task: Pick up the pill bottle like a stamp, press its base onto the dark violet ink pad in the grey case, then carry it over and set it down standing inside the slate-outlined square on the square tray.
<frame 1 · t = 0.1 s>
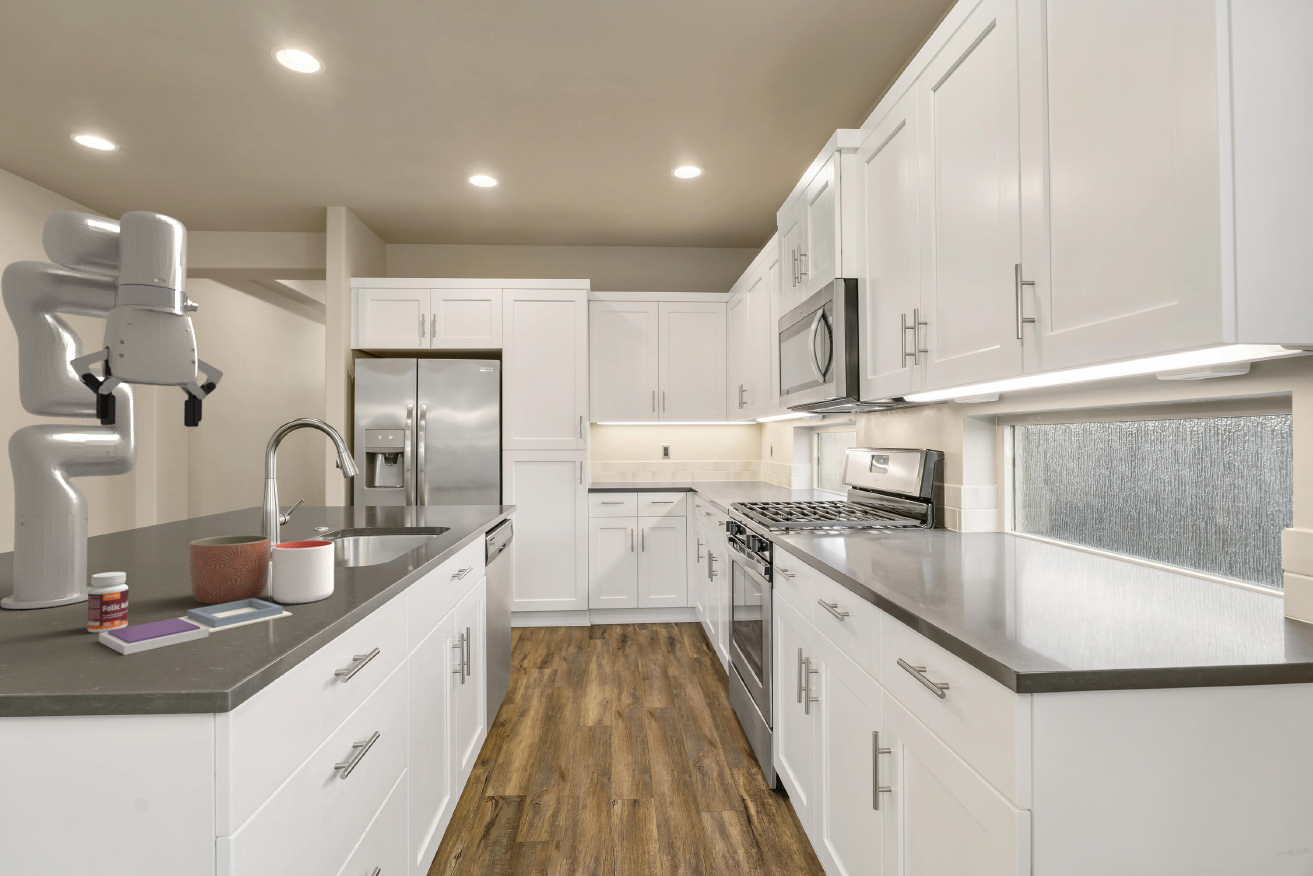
hand: (151, 425, 89), 31 cm above the countertop, fingers open, 9 cm apart
ink pad: (154, 639, 93), on the countertop
planter: (230, 600, 117), on the countertop
pill bottle: (108, 630, 98), on the countertop
square tray: (235, 617, 105), on the countertop
cup: (303, 599, 118), on the countertop
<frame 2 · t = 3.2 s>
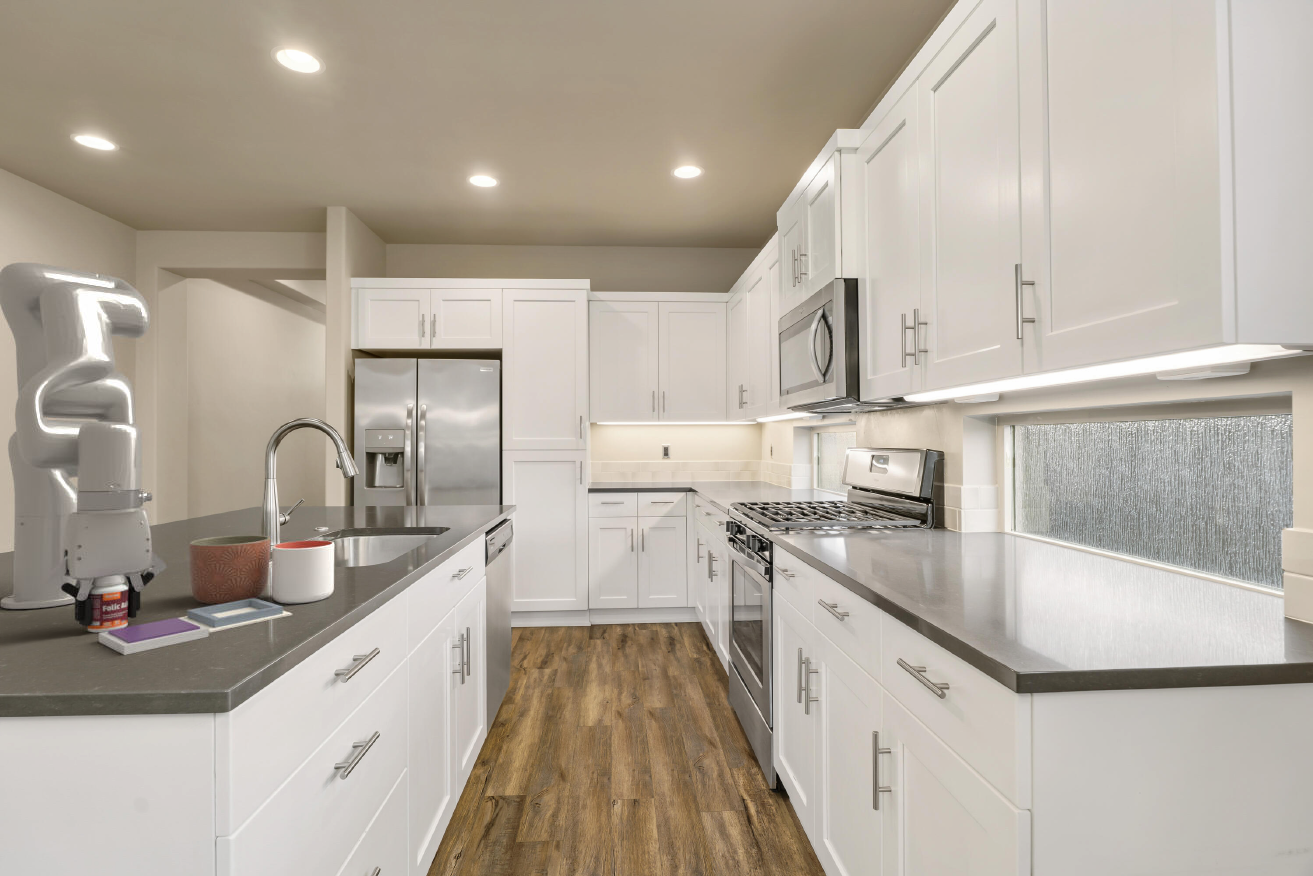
hand: (108, 619, 98), 1 cm above the countertop, fingers closed on pill bottle, 4 cm apart
pill bottle: (108, 629, 98), on the countertop, touching gripper
everything else where it was.
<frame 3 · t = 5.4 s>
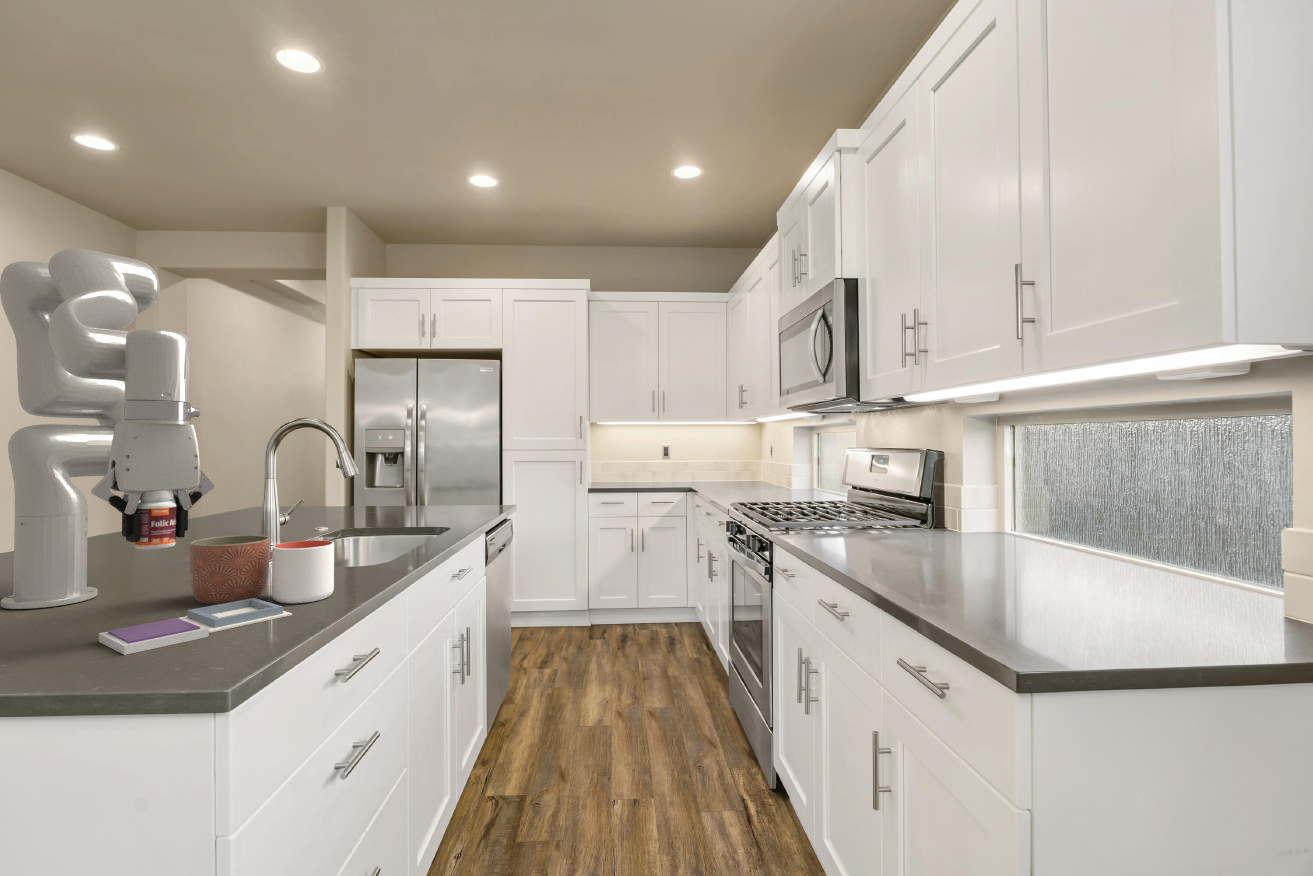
hand: (155, 537, 93), 15 cm above the countertop, fingers closed on pill bottle, 4 cm apart
pill bottle: (155, 548, 93), point 13 cm above the countertop, touching gripper
everything else where it was.
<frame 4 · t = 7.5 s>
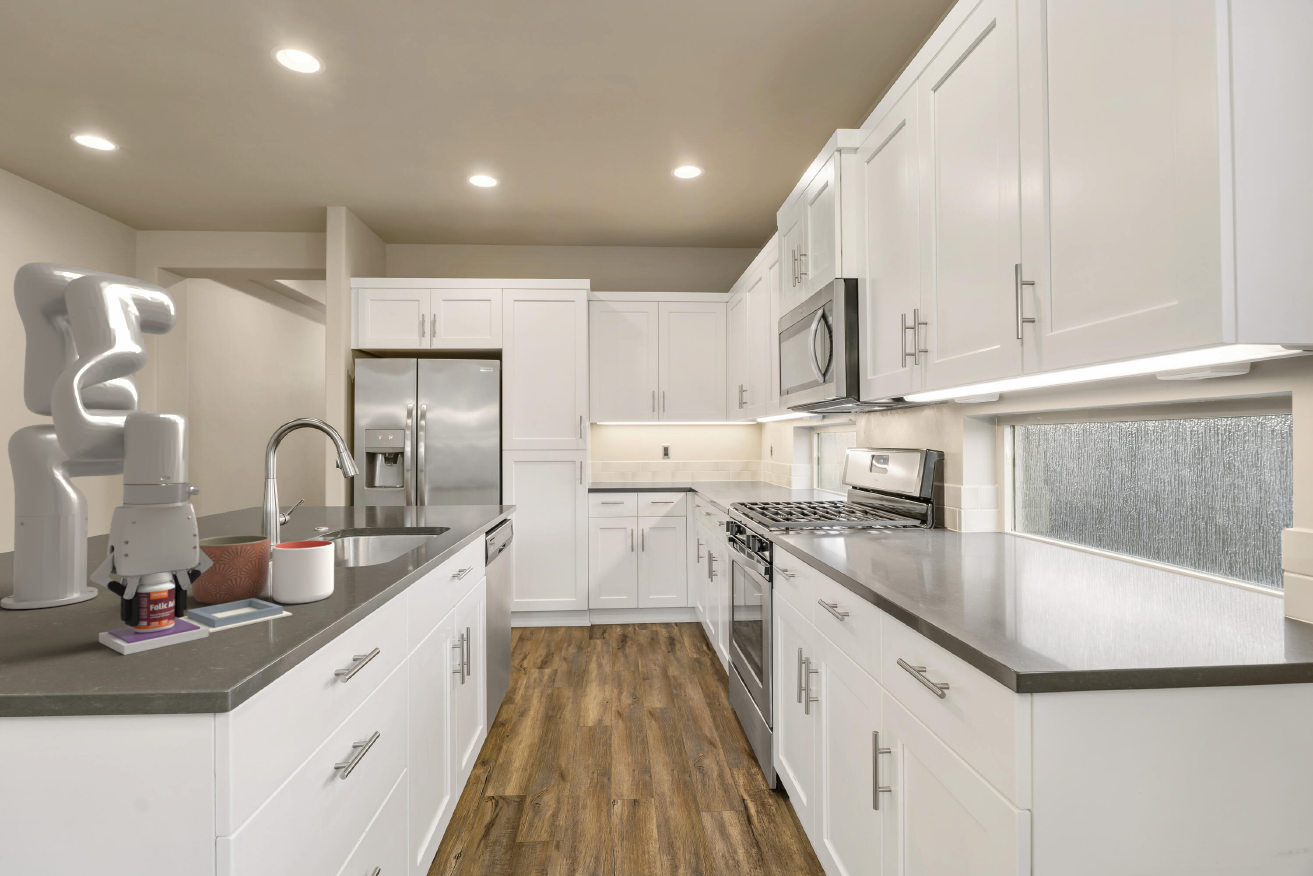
hand: (154, 619, 93), 3 cm above the countertop, fingers closed on pill bottle, 4 cm apart
pill bottle: (154, 630, 93), point 1 cm above the countertop, touching gripper, ink pad
everything else where it was.
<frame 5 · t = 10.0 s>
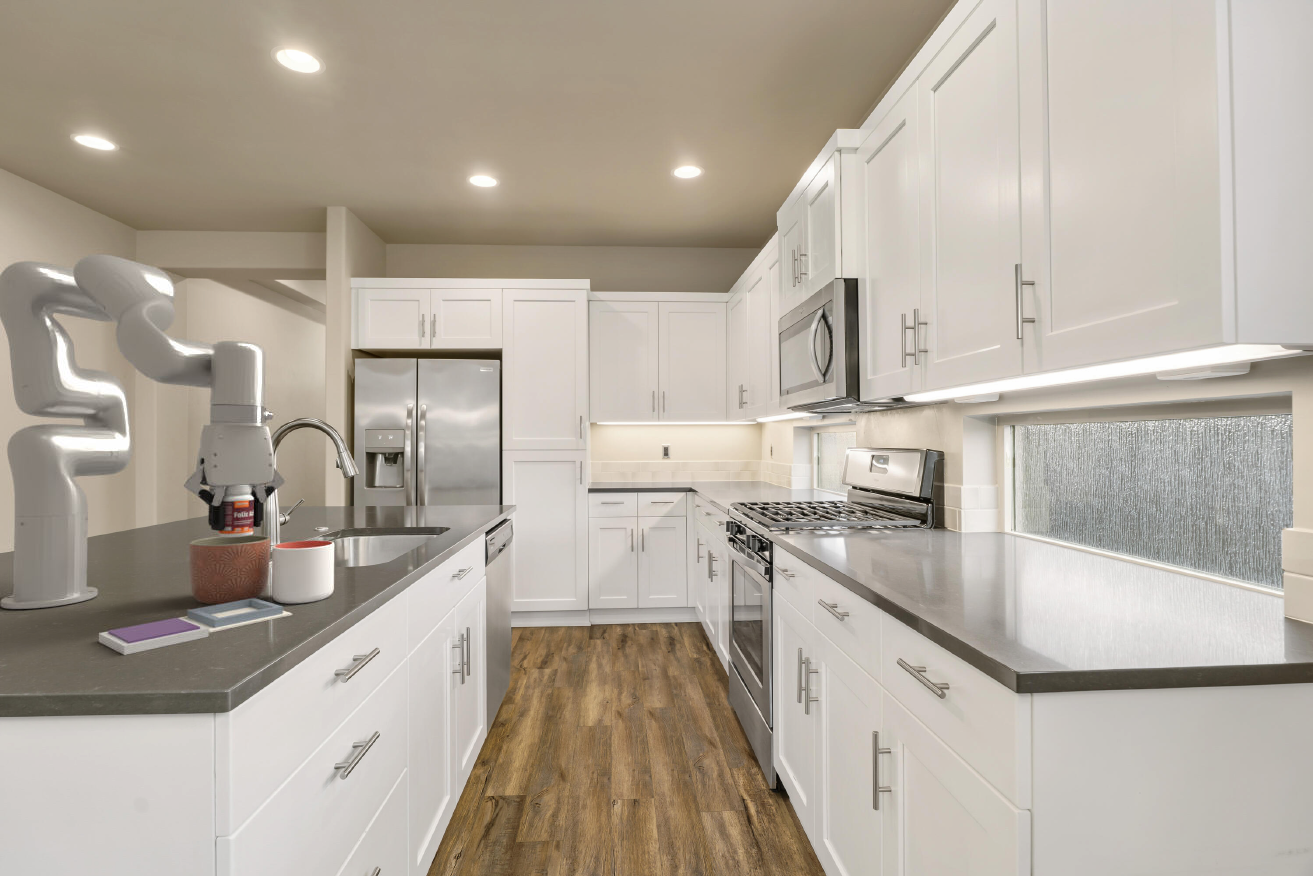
hand: (236, 526, 105), 15 cm above the countertop, fingers closed on pill bottle, 4 cm apart
pill bottle: (236, 536, 105), point 13 cm above the countertop, touching gripper
everything else where it was.
when the fingers open (3 cm above the countertop, at t = 12.1 s): pill bottle drops 1 cm, resting on square tray.
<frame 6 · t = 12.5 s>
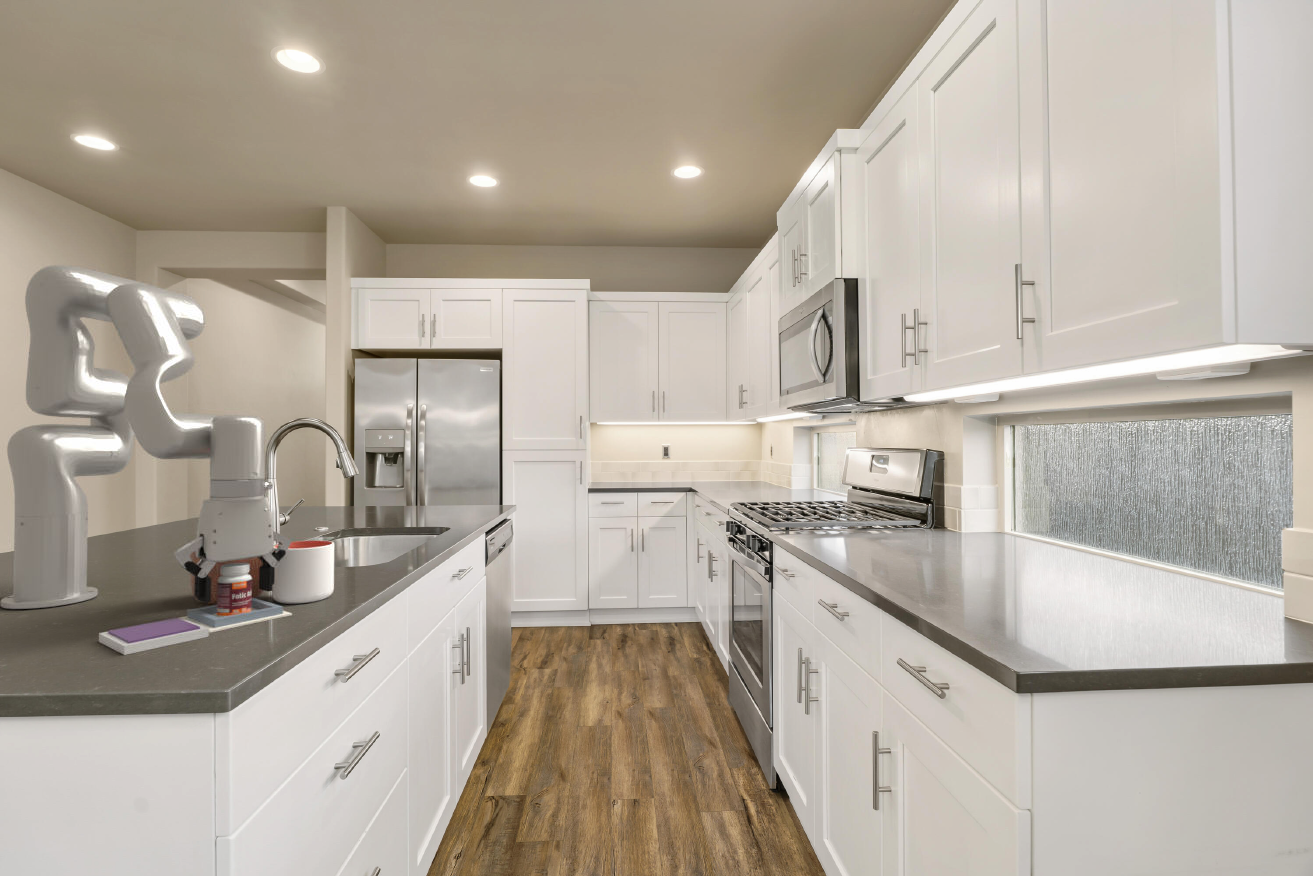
hand: (235, 595, 105), 4 cm above the countertop, fingers open, 8 cm apart
pill bottle: (234, 616, 105), resting on square tray
everything else where it was.
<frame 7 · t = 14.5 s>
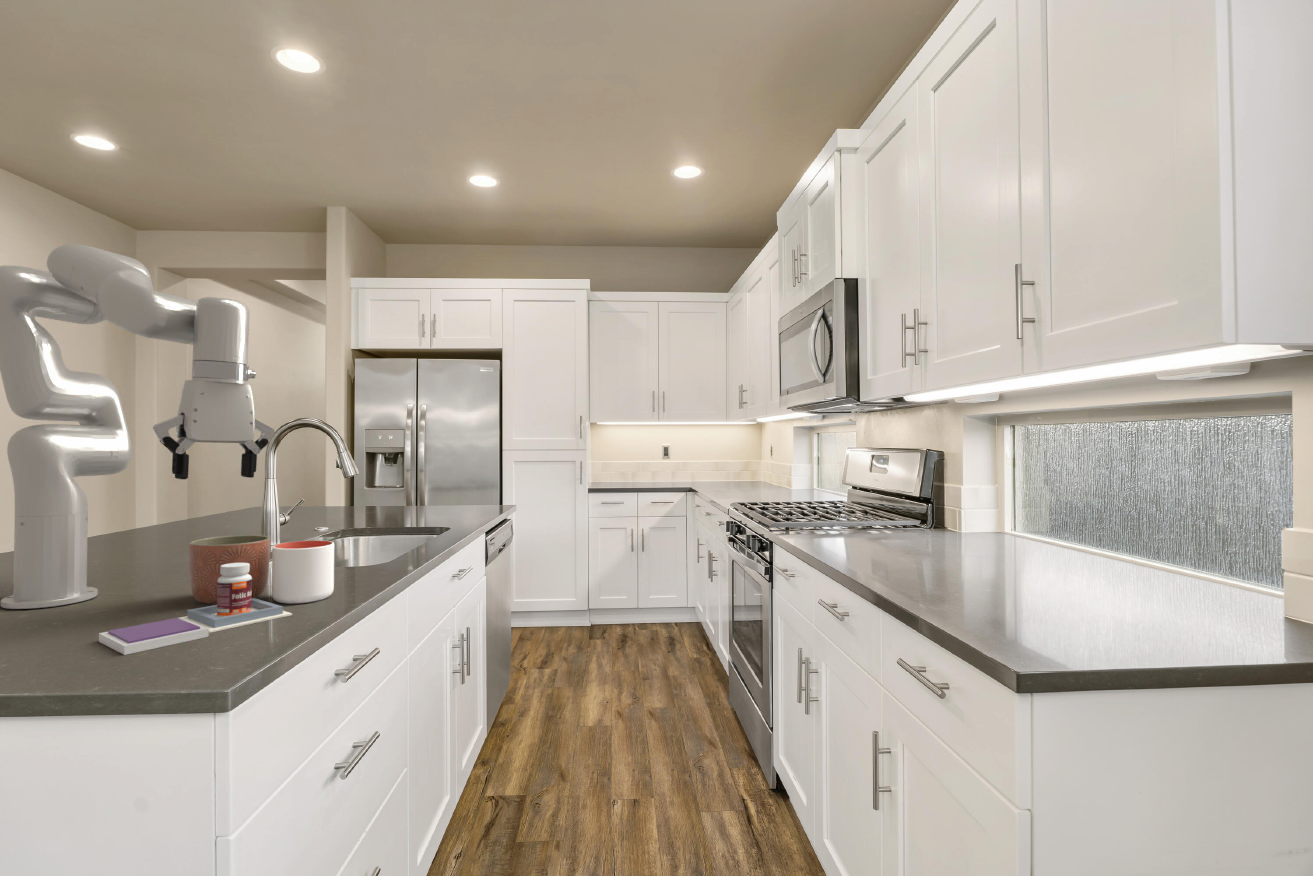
hand: (215, 477, 105), 23 cm above the countertop, fingers open, 9 cm apart
nothing on the countertop moved.
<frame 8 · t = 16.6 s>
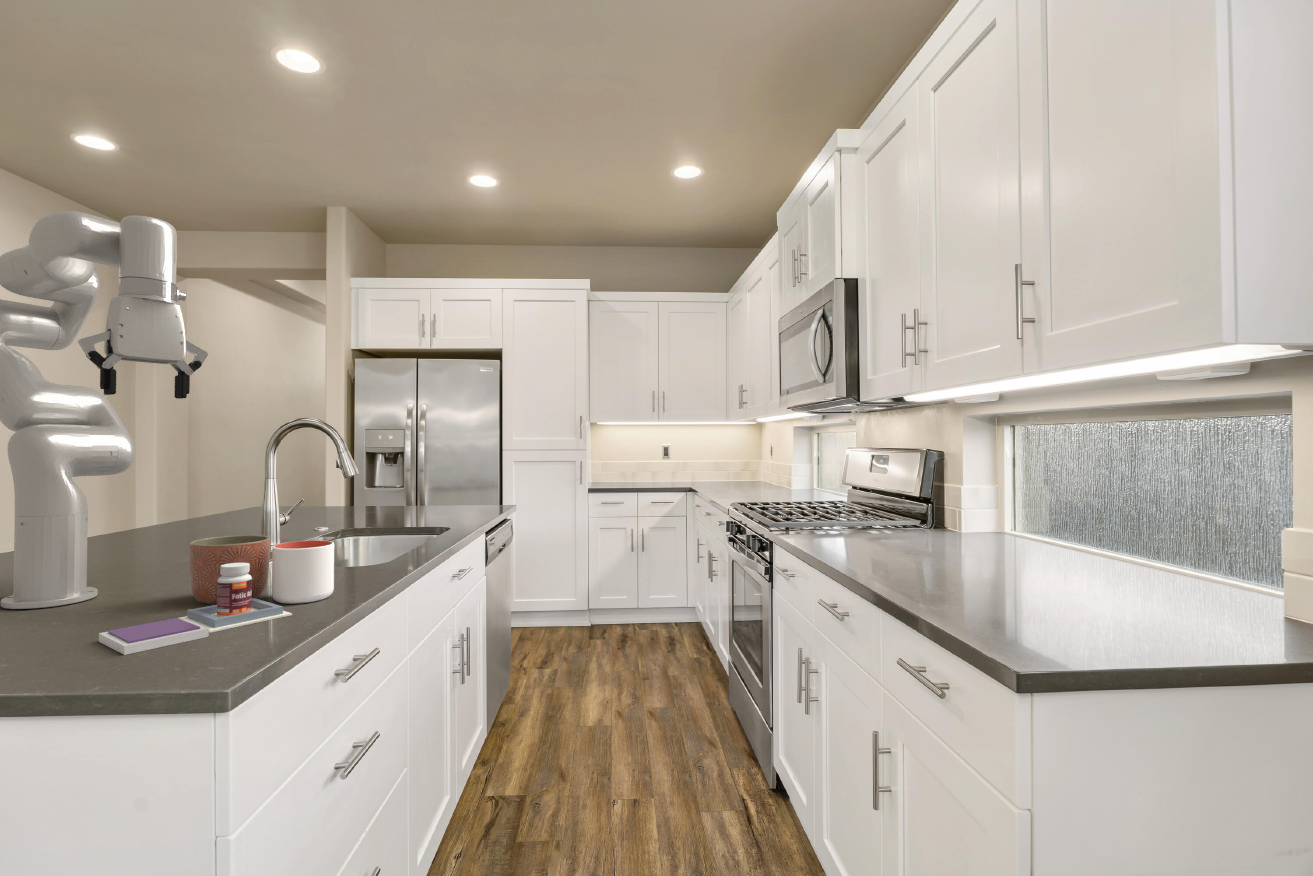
hand: (146, 396, 106), 36 cm above the countertop, fingers open, 9 cm apart
nothing on the countertop moved.
at the end: pill bottle inside the target area on the square tray (0.1 cm from its centre), point 0.1 cm above the square tray's base; pill bottle tilted 0°; the gripper is holding nothing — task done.
